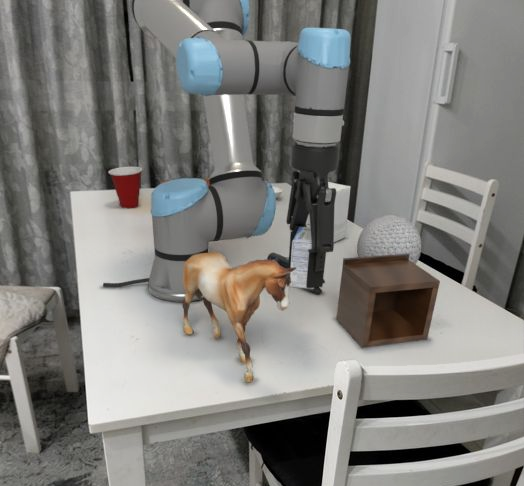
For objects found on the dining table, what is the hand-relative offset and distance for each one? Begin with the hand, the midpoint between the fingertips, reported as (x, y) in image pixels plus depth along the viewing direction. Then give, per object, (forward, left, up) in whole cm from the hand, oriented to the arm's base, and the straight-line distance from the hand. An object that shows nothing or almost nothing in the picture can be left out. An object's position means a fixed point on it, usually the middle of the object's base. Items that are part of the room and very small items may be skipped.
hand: (304, 275), depth 94 cm
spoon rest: (+18, +103, -13) cm, 105 cm away
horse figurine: (-13, 0, -13) cm, 18 cm away
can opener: (+8, +26, -13) cm, 30 cm away
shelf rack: (+17, 0, -13) cm, 21 cm away
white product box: (+28, +56, -13) cm, 64 cm away
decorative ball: (+31, +25, -13) cm, 42 cm away
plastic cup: (-25, +100, -13) cm, 104 cm away
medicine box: (0, 0, -1) cm, 1 cm away
